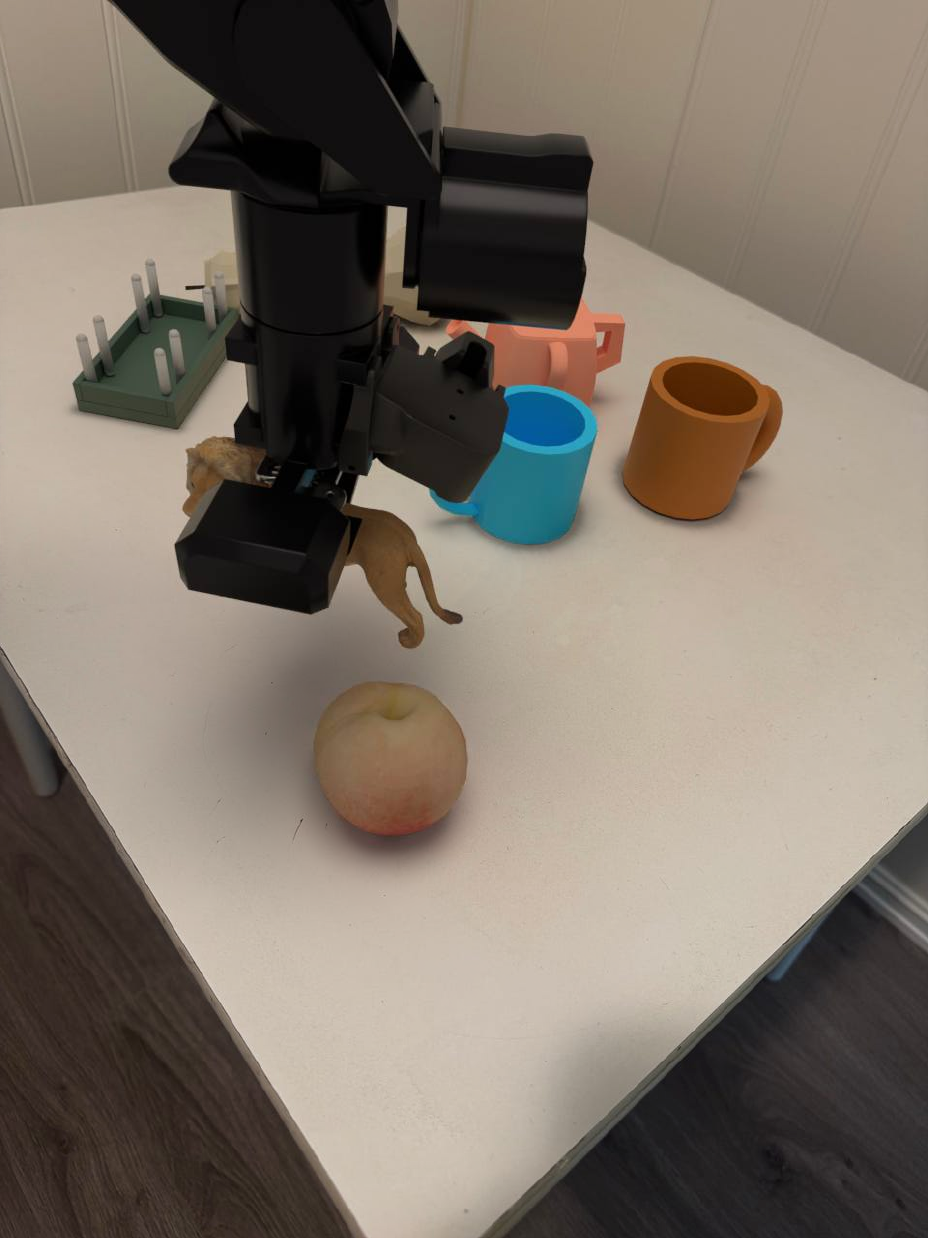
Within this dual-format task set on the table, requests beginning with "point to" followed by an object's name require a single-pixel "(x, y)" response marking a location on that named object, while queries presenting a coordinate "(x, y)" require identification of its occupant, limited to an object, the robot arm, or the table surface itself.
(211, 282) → the faceted club
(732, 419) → the mug
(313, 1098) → the table surface
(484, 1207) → the table surface
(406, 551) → the lion figurine
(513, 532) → the mug
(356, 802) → the fruit
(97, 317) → the drying rack
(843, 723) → the table surface
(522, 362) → the teapot
